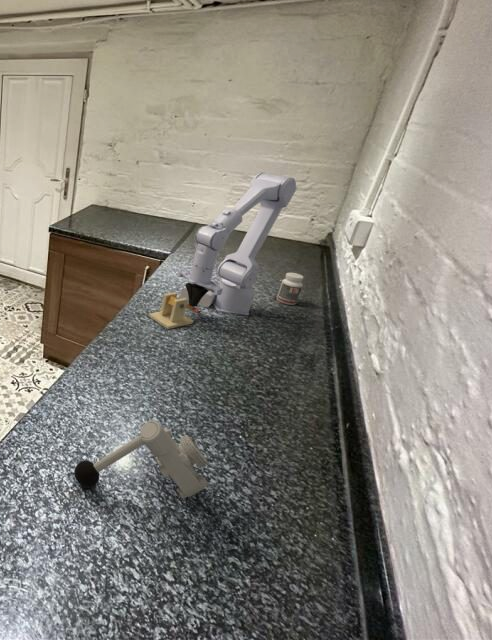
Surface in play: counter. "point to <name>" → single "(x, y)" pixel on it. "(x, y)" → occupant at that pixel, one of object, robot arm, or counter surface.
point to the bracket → (172, 312)
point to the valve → (169, 454)
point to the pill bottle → (290, 289)
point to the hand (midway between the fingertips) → (192, 305)
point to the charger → (205, 300)
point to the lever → (171, 302)
